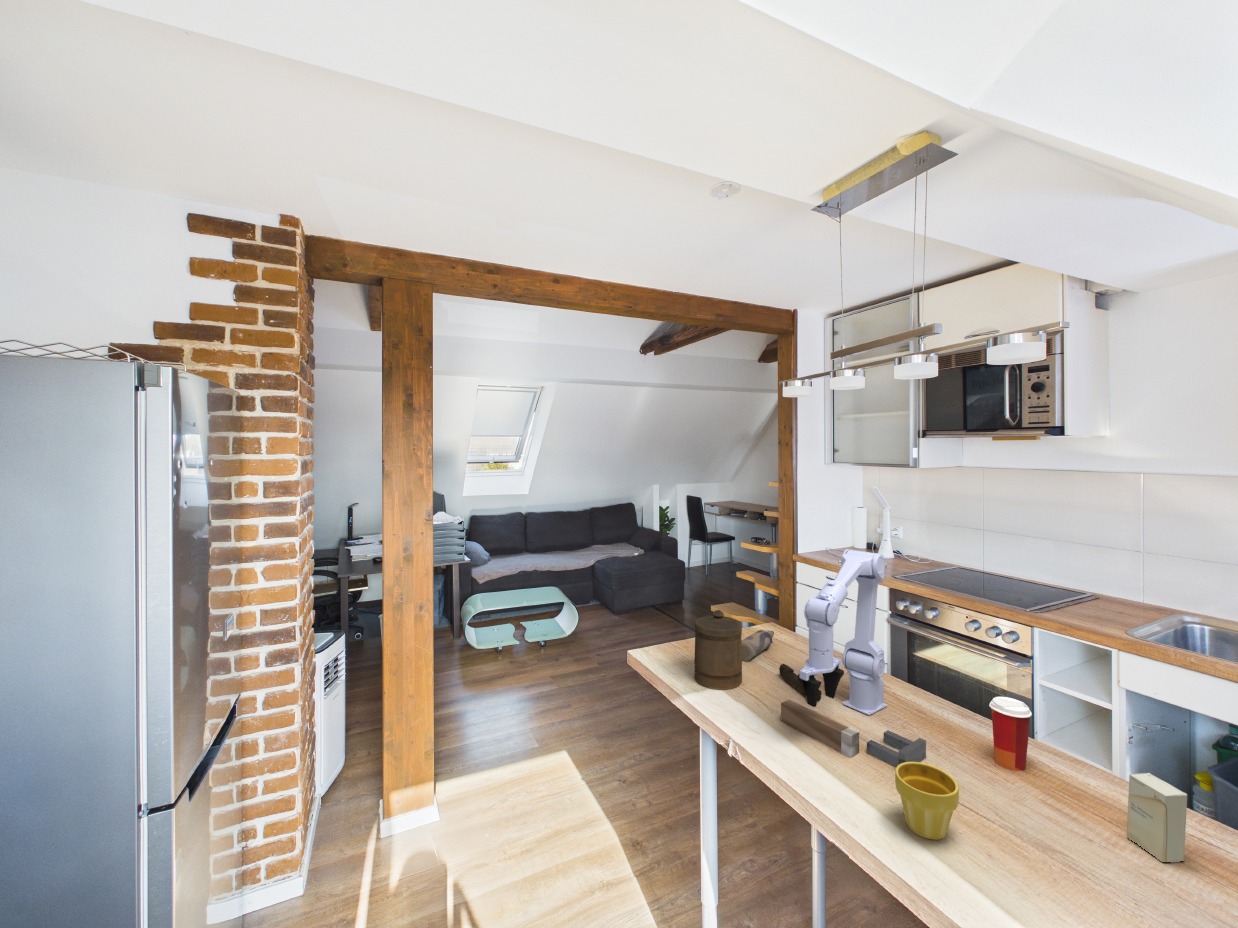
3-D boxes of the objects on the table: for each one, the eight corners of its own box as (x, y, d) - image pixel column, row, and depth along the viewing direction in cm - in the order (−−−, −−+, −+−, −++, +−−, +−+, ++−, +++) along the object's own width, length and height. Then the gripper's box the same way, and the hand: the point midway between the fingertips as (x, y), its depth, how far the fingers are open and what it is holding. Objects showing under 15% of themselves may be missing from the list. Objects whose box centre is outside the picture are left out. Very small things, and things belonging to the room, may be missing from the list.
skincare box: (1125, 837, 95) (1126, 772, 95) (1147, 835, 95) (1148, 771, 95) (1164, 864, 88) (1165, 795, 88) (1187, 862, 89) (1188, 793, 89)
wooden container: (748, 676, 165) (748, 608, 164) (732, 694, 152) (732, 620, 152) (705, 666, 173) (705, 601, 172) (686, 682, 160) (686, 612, 160)
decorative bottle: (752, 664, 174) (752, 644, 174) (732, 658, 179) (732, 640, 179) (783, 642, 194) (783, 625, 194) (764, 638, 199) (764, 621, 199)
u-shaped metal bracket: (887, 739, 127) (887, 724, 127) (926, 757, 120) (926, 740, 120) (866, 752, 122) (866, 735, 122) (905, 771, 115) (905, 754, 115)
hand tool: (822, 702, 147) (822, 686, 147) (810, 703, 147) (810, 687, 147) (787, 675, 166) (787, 660, 166) (776, 676, 165) (776, 661, 165)
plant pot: (933, 855, 91) (934, 801, 91) (883, 817, 100) (883, 768, 100) (971, 837, 95) (971, 785, 95) (919, 803, 104) (919, 755, 104)
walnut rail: (789, 717, 139) (789, 698, 139) (859, 752, 122) (859, 731, 122) (780, 721, 137) (780, 702, 137) (850, 757, 120) (850, 735, 120)
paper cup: (1023, 757, 120) (1023, 698, 120) (1037, 776, 113) (1038, 713, 112) (983, 751, 122) (984, 693, 122) (995, 769, 115) (995, 708, 115)
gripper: (824, 636, 136) (824, 687, 136) (789, 648, 127) (789, 702, 128) (848, 644, 130) (848, 697, 130) (814, 657, 122) (814, 714, 122)
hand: (821, 700), depth 128 cm, fingers open, 7 cm apart
